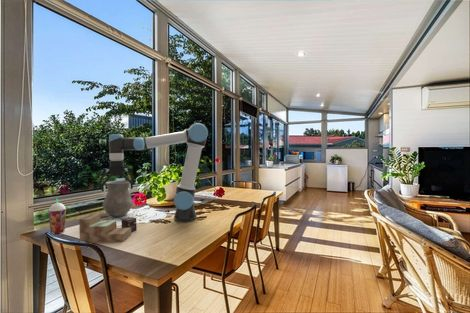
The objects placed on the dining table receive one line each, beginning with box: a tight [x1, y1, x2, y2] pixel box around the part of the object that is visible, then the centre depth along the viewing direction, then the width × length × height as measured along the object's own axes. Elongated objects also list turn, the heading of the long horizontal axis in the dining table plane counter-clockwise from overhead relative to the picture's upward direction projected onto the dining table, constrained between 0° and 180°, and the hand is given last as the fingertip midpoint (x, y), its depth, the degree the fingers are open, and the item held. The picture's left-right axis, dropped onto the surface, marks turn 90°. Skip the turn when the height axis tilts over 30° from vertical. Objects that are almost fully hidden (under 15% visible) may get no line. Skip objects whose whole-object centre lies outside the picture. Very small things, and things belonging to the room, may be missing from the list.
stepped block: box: [78, 213, 132, 243], centre depth 126 cm, size 22×10×12 cm, turn 92°
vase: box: [102, 180, 134, 218], centre depth 172 cm, size 20×19×25 cm
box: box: [121, 216, 138, 233], centre depth 138 cm, size 6×6×7 cm
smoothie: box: [48, 197, 67, 234], centre depth 137 cm, size 8×8×20 cm
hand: (117, 195), depth 141 cm, fingers open, 13 cm apart
